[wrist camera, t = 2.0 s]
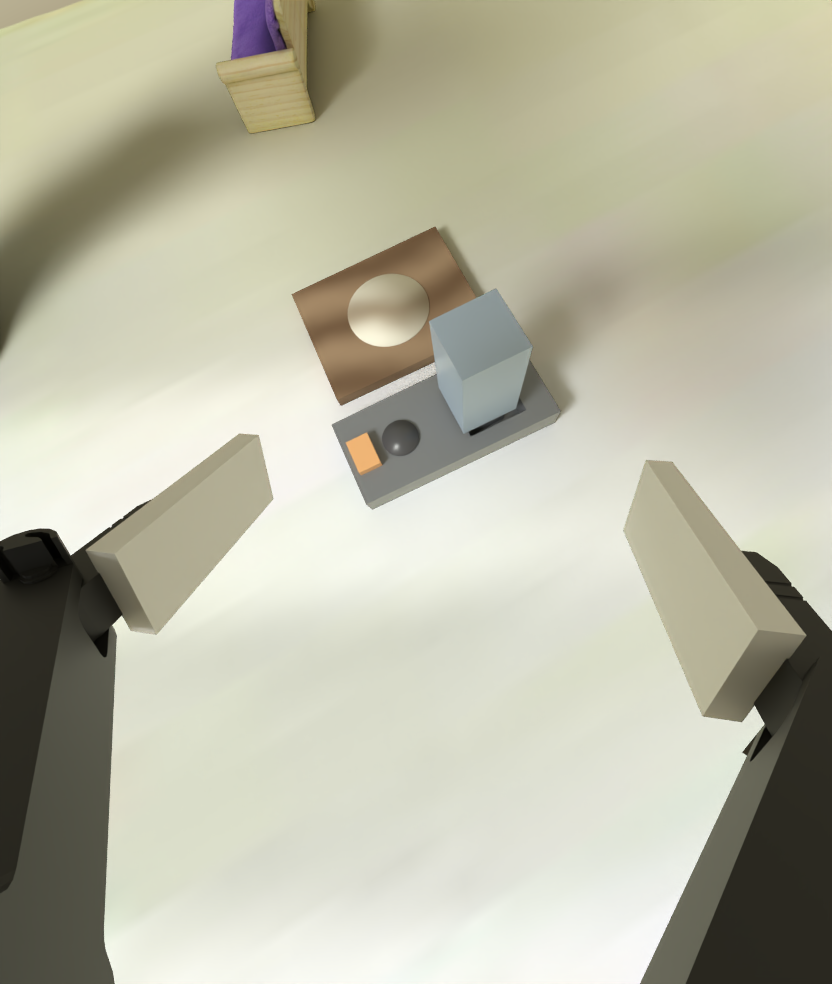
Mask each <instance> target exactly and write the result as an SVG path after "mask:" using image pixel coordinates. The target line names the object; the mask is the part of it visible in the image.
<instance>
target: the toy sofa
mask: <svg viewBox="0 0 832 984" xmlns="http://www.w3.org/2000/svg"><path fill="white" fill-rule="evenodd" d="M315 9H316V7H315V2H314V0H235V2H234V26H233V41H232V43H233V44H232V55H231V60H229V61H224V62H218V63H217V64H216V68H217V72H218V75H219V77H220V79H221V81H222V82H223V83H224V84H225V85H226V87H227V89H228V91H229V93H230V95H231V97H232V99H233V101H234V103H235V105H236V107H237V110H238V112H239V114H240V116H241V118H242V120H243V122H244V124H245V126H246V128H247V130H248V132H249V133H256V132H262V131H268V130H273V129H278V128H284V127H289V126H294V125H299V124H305V123H310V122H313V121H314V120H315V113H314V110H313V107H312V104H311V100H310V97H309V94H308V91H307V12H312V11H315Z"/></svg>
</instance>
